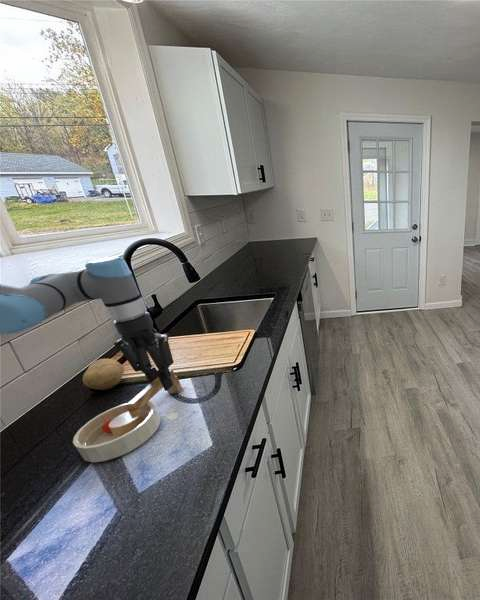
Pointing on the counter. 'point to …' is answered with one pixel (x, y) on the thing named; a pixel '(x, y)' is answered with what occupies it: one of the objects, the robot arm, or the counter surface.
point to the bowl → (104, 445)
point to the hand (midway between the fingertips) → (164, 388)
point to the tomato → (107, 426)
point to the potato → (103, 374)
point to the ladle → (134, 415)
